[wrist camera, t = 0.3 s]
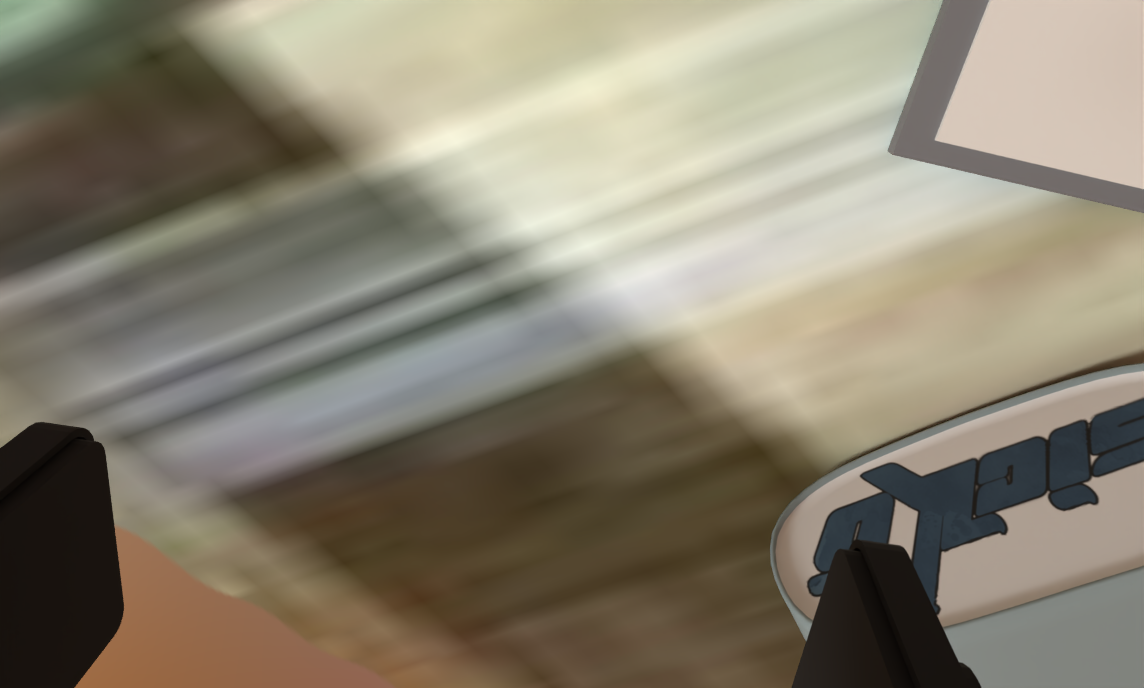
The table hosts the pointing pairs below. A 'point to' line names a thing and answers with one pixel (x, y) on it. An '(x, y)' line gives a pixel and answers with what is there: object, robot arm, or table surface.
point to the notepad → (1034, 96)
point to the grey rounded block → (1003, 531)
